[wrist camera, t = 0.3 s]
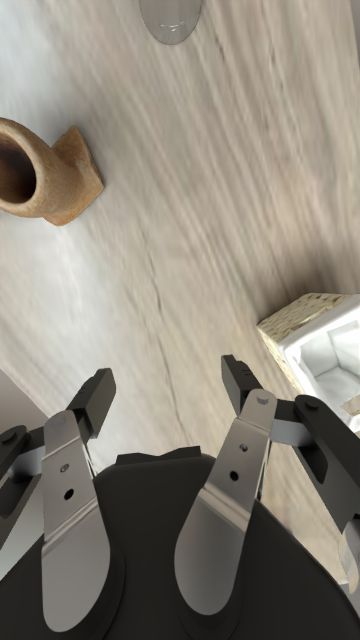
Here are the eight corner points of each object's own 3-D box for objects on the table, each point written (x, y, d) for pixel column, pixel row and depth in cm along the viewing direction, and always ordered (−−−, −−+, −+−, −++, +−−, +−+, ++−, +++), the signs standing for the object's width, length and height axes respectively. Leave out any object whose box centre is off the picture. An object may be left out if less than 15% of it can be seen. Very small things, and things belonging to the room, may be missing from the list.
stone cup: (67, 243, 37) (-5, 230, 22) (23, 188, 34) (-92, 132, 19) (123, 197, 34) (82, 148, 20) (81, 132, 31) (-4, 20, 17)
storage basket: (248, 321, 42) (282, 351, 28) (312, 281, 39) (387, 291, 25) (291, 390, 47) (337, 443, 33) (350, 359, 44) (428, 403, 30)
